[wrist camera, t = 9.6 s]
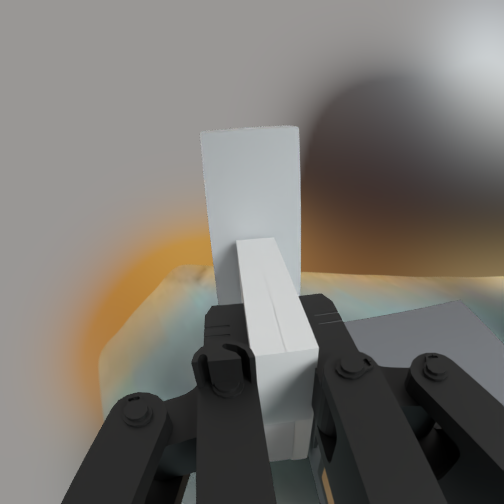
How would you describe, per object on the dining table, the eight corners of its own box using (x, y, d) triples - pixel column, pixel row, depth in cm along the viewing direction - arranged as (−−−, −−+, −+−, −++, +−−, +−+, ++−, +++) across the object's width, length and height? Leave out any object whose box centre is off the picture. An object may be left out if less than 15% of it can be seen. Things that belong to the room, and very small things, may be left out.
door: (236, 374, 30) (209, 124, 21) (285, 369, 30) (280, 120, 21) (244, 467, 20) (200, 133, 11) (307, 459, 21) (329, 127, 11)
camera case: (301, 432, 25) (309, 327, 20) (421, 402, 25) (460, 299, 20) (350, 638, 6) (420, 654, 2) (503, 566, 7) (614, 496, 2)
